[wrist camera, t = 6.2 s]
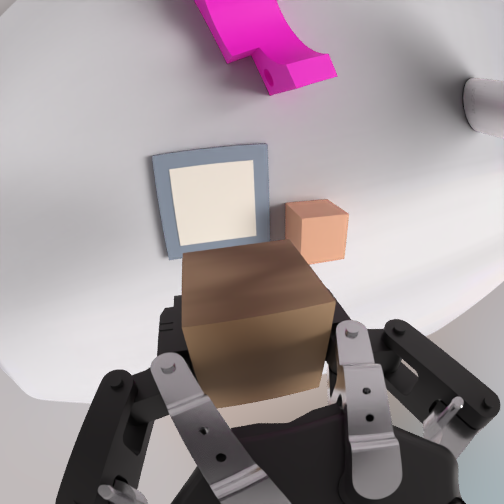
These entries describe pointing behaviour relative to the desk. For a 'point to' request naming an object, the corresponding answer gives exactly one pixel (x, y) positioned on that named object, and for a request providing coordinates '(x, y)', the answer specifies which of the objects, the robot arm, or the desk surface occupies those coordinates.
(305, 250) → the terracotta cube
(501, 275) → the desk surface
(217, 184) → the blue bordered cream board
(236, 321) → the walnut cube
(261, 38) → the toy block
